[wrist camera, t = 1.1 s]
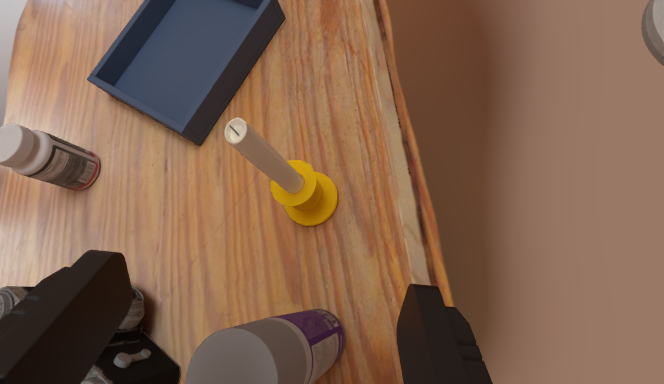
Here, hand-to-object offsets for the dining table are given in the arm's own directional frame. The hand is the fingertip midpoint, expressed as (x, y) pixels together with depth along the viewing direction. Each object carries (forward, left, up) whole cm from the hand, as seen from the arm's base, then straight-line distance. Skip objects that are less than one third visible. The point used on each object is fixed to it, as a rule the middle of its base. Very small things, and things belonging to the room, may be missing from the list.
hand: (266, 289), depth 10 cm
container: (+5, -1, -21) cm, 22 cm away
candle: (-5, -8, -21) cm, 23 cm away
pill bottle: (+5, -34, -21) cm, 41 cm away
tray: (-13, -30, -21) cm, 39 cm away
